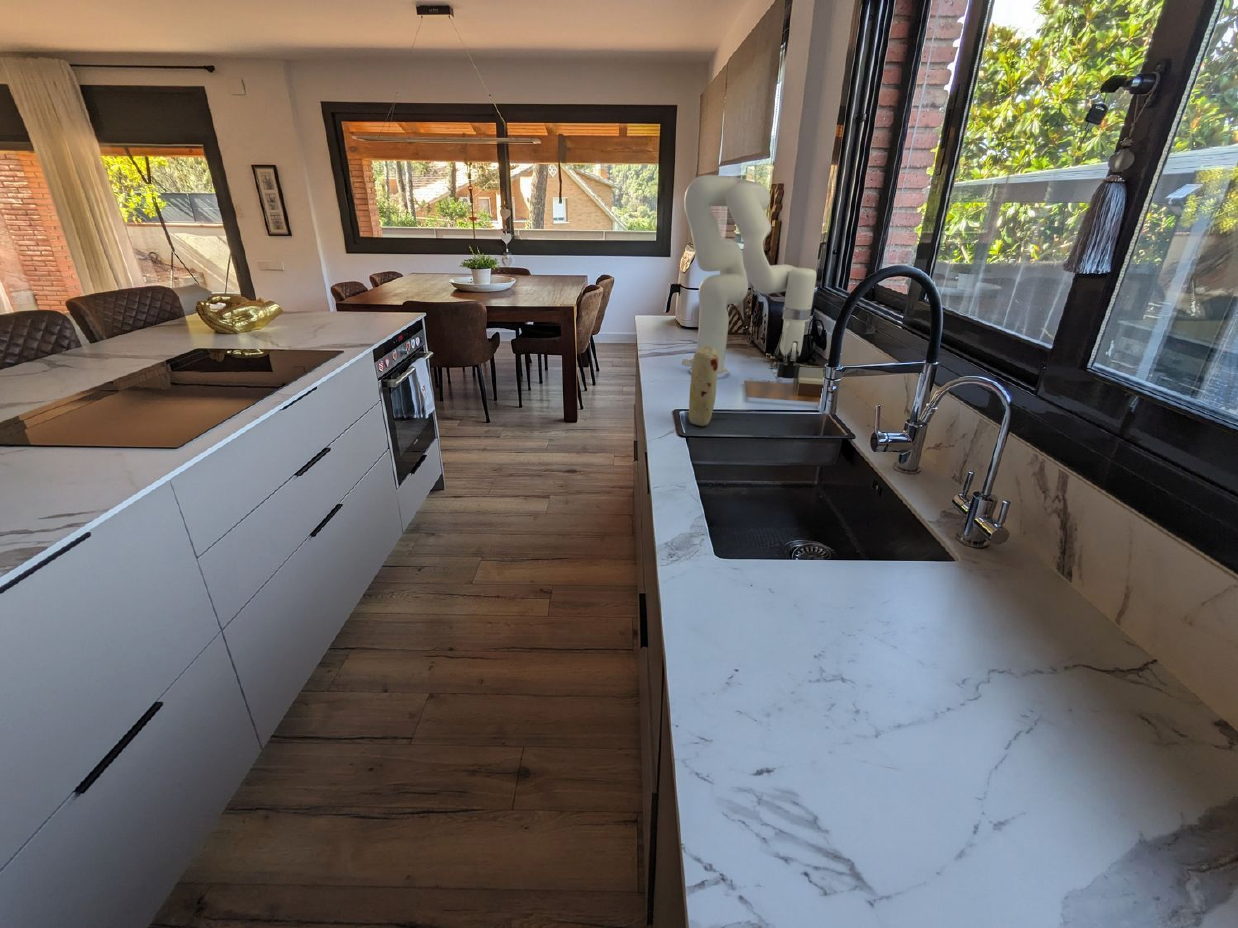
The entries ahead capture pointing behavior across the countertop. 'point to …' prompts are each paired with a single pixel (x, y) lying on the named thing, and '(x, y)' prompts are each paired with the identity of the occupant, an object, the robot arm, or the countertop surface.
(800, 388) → the cake slice
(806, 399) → the cutting board
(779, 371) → the knife
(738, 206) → the robot arm
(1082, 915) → the countertop surface
